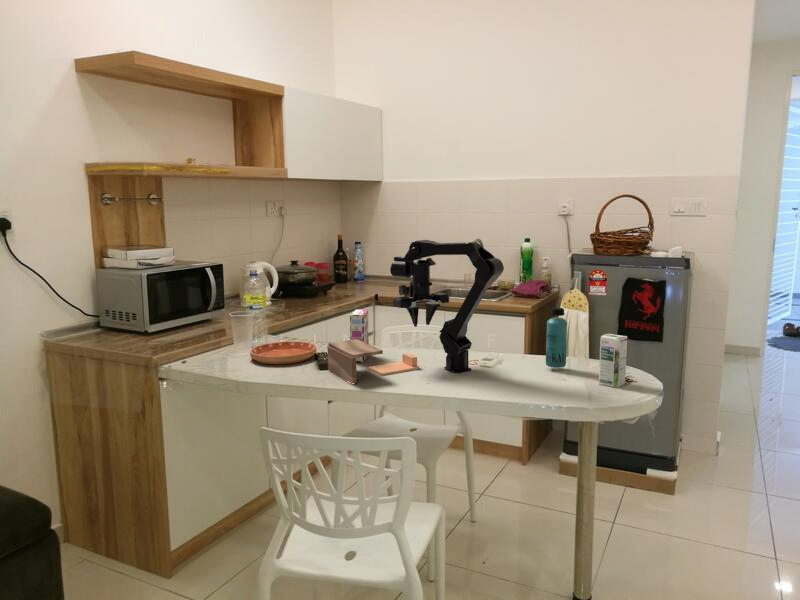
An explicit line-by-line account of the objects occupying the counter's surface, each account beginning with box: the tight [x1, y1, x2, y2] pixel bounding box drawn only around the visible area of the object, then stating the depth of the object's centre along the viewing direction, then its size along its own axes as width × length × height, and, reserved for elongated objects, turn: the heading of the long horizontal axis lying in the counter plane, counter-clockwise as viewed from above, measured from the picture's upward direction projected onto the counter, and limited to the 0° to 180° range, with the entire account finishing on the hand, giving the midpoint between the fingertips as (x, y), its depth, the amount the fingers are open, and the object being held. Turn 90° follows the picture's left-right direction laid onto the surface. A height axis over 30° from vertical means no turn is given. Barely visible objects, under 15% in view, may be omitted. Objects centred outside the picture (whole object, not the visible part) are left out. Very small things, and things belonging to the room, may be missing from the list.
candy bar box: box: [349, 309, 370, 363], centre depth 215 cm, size 11×5×16 cm, turn 174°
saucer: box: [249, 340, 317, 365], centre depth 219 cm, size 23×23×4 cm
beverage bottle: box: [544, 307, 568, 369], centre depth 197 cm, size 6×7×20 cm
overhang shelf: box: [326, 339, 384, 384], centre depth 196 cm, size 10×18×9 cm, turn 30°
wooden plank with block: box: [367, 352, 420, 376], centre depth 203 cm, size 14×9×4 cm, turn 120°
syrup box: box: [598, 333, 628, 389], centre depth 182 cm, size 6×6×14 cm
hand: (421, 325), depth 206 cm, fingers open, 4 cm apart
